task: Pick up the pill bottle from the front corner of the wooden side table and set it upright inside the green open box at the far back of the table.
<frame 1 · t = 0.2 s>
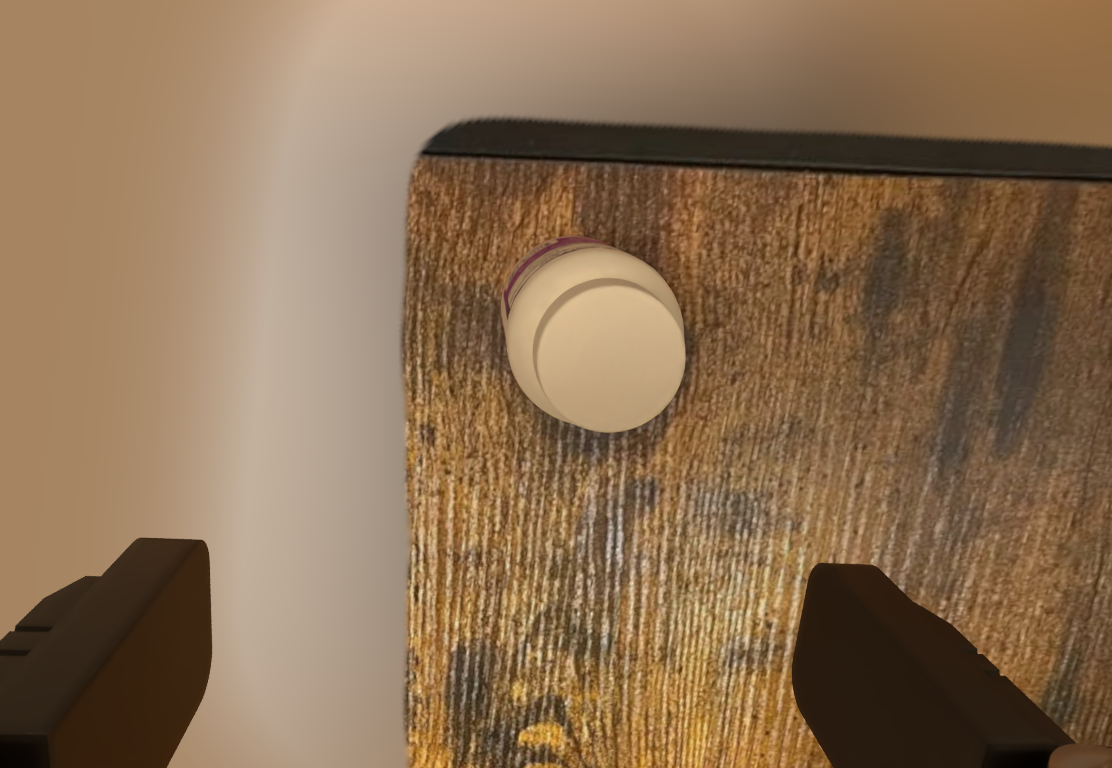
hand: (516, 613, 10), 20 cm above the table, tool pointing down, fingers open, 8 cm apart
pill bottle: (569, 303, 29), on the table
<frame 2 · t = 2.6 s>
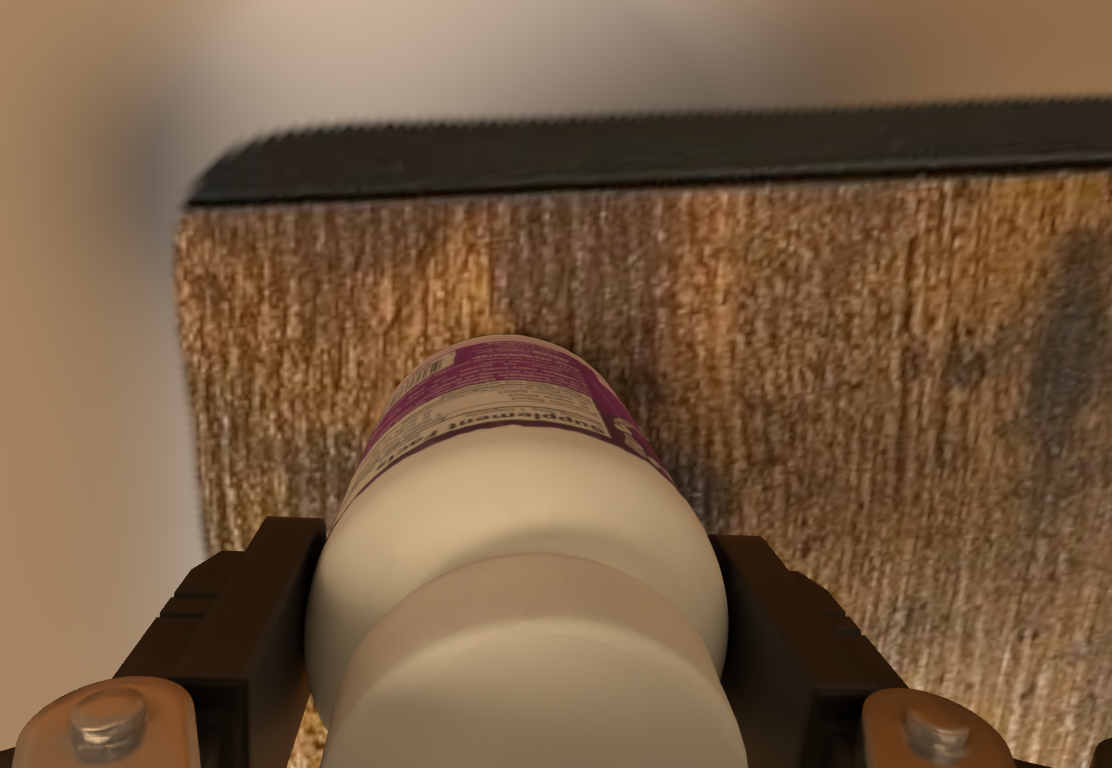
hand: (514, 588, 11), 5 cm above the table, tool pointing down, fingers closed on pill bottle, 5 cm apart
pill bottle: (503, 448, 16), on the table, touching gripper
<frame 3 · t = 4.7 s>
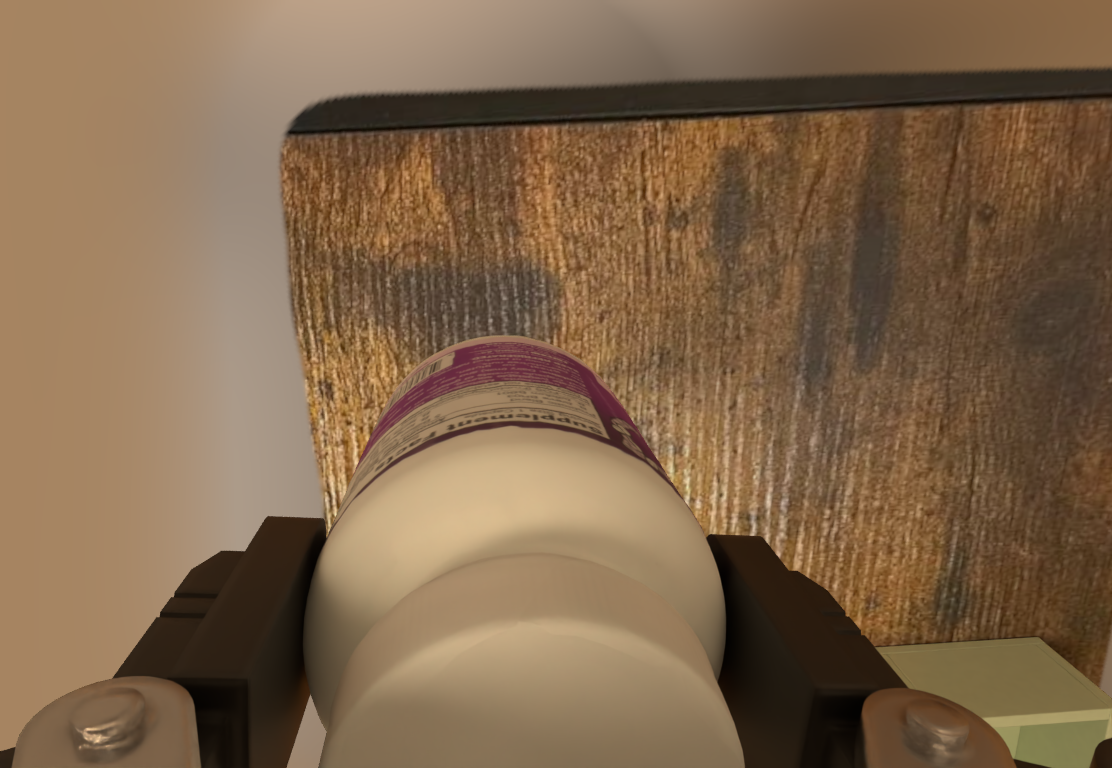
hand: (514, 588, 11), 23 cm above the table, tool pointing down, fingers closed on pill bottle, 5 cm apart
pill bottle: (502, 449, 16), point 17 cm above the table, touching gripper
green open box: (943, 717, 41), on the table
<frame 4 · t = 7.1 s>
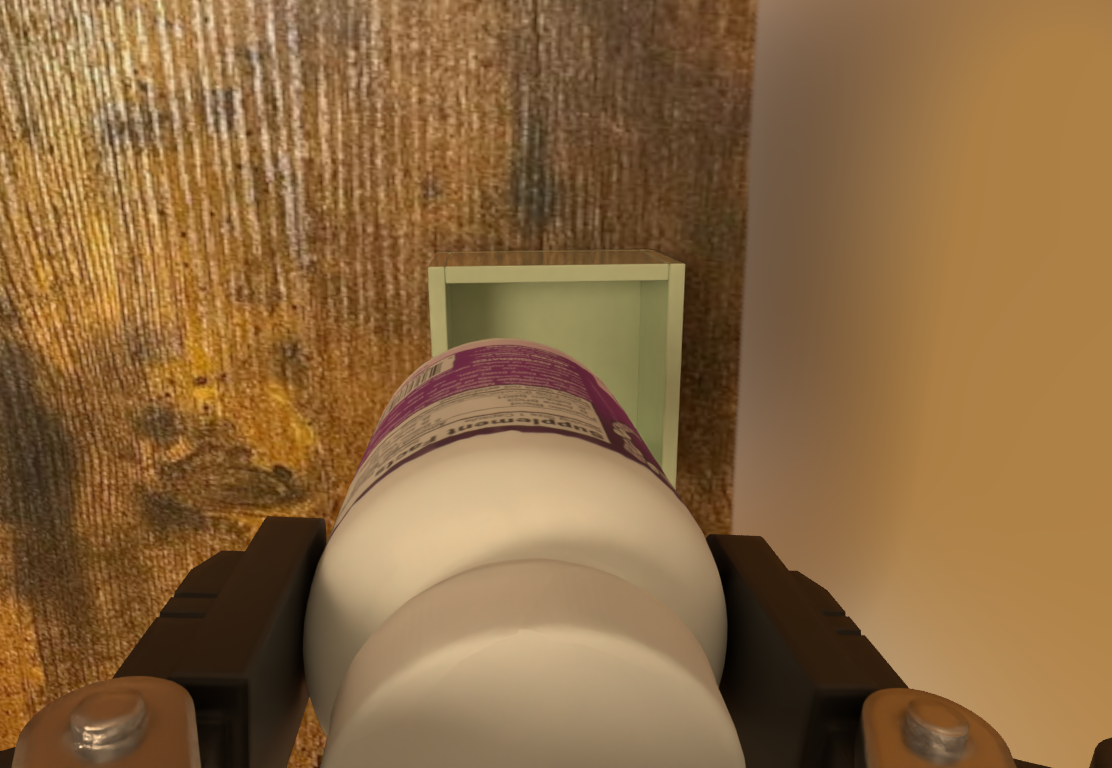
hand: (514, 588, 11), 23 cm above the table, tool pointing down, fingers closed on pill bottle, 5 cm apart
pill bottle: (502, 452, 16), point 17 cm above the table, touching gripper
green open box: (546, 355, 34), on the table
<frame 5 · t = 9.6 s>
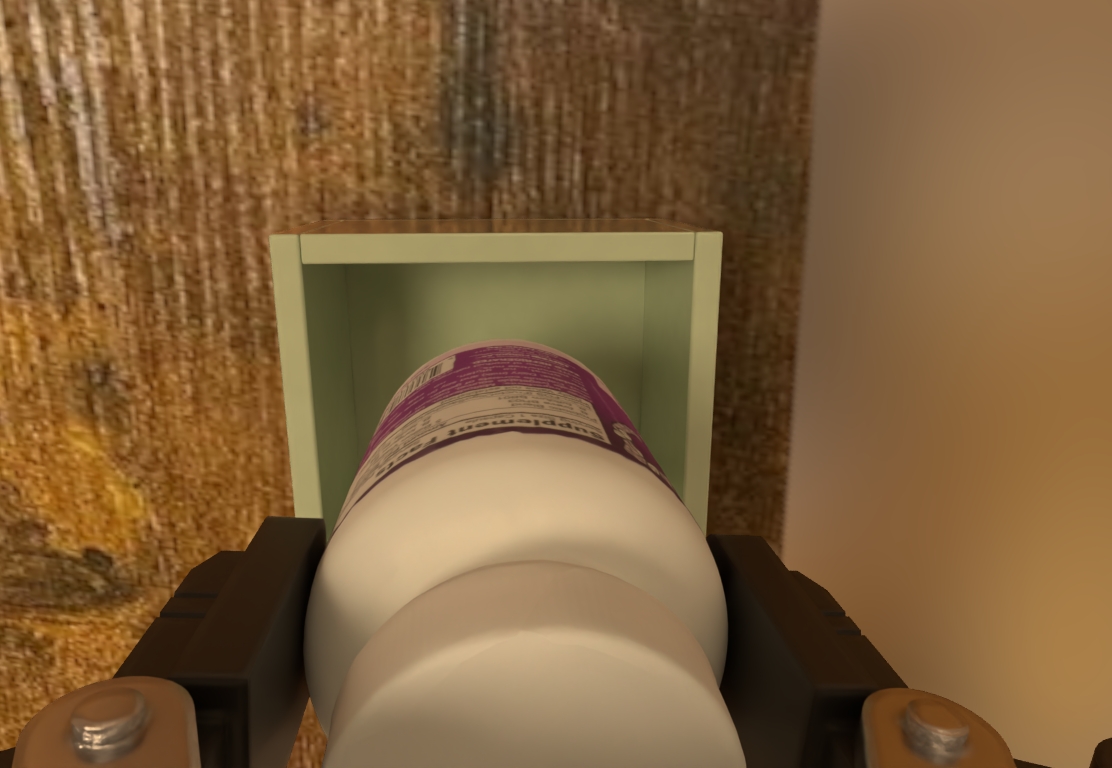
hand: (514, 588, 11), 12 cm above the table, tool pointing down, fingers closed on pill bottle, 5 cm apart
pill bottle: (503, 452, 16), point 6 cm above the table, touching gripper
green open box: (499, 382, 22), on the table
when the fingers open (6 cm above the table, at t = 11.5 s): pill bottle stays where it is, resting on green open box.
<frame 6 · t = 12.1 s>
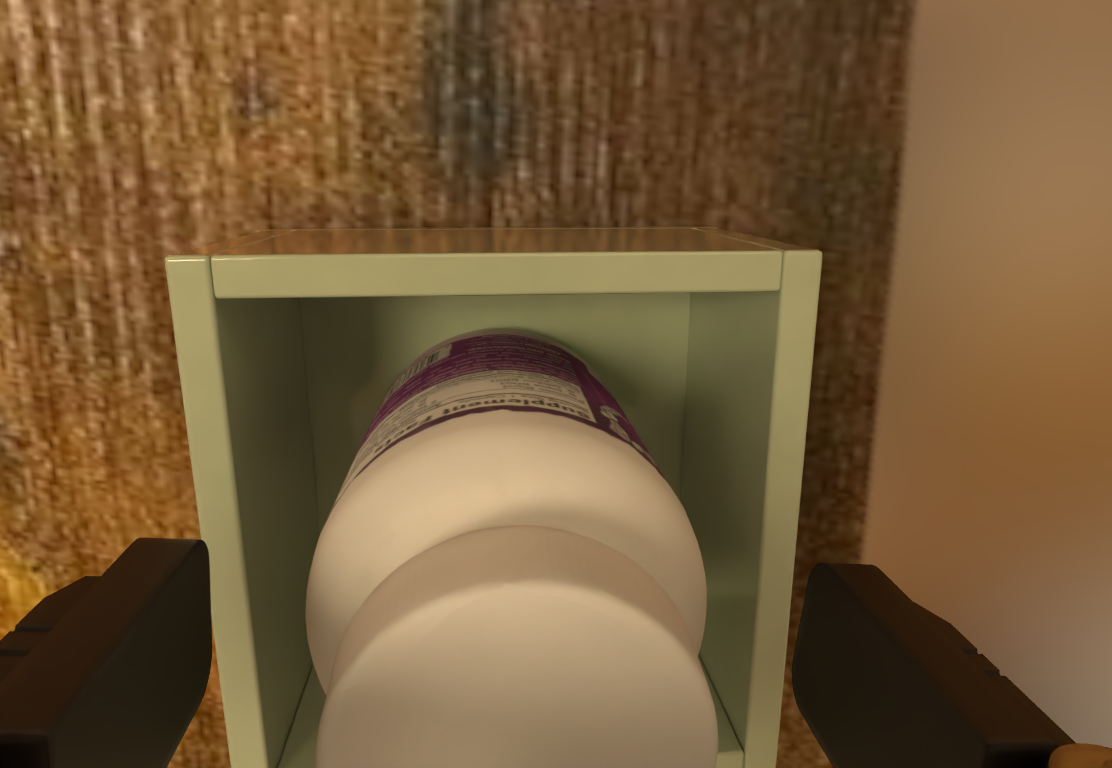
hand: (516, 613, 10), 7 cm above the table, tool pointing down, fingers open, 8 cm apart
pill bottle: (498, 439, 17), resting on green open box
green open box: (501, 435, 17), on the table
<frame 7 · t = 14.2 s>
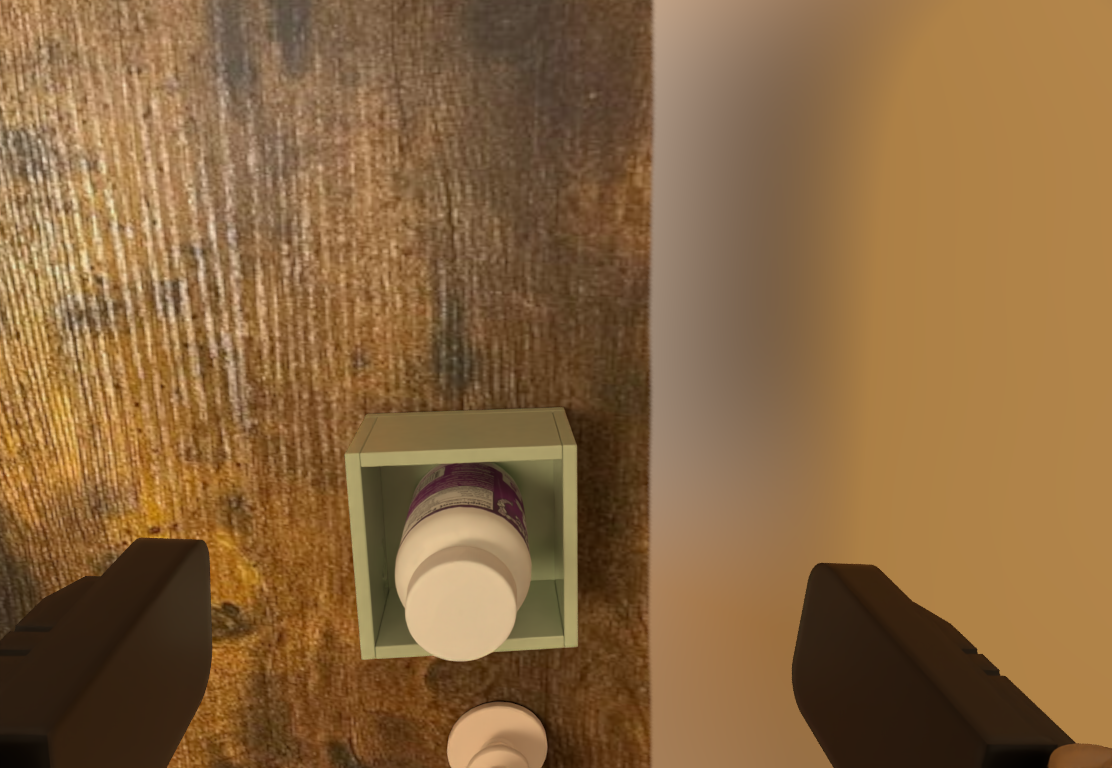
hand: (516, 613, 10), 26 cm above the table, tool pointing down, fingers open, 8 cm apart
pill bottle: (468, 504, 37), resting on green open box
candle: (497, 740, 41), on the table
green open box: (469, 501, 37), on the table
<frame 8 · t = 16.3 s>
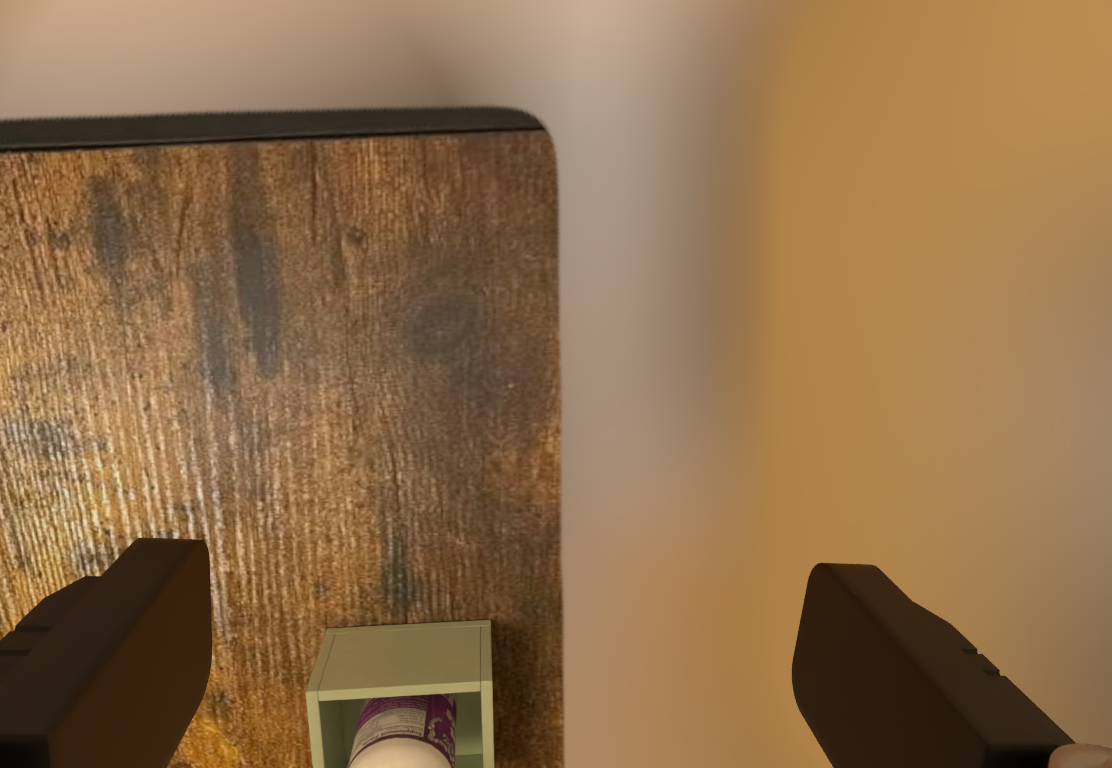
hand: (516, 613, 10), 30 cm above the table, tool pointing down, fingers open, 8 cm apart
pill bottle: (411, 696, 44), resting on green open box
green open box: (413, 693, 45), on the table
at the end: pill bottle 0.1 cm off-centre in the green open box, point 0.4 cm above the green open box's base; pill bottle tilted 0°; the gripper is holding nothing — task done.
